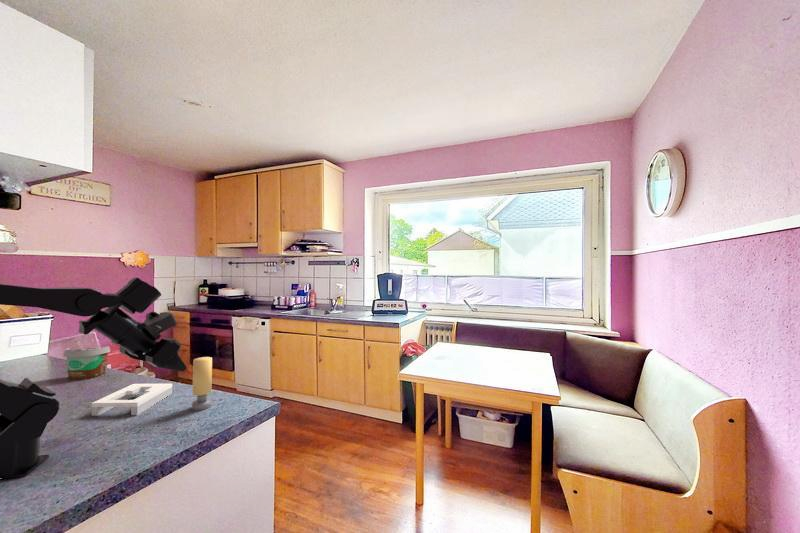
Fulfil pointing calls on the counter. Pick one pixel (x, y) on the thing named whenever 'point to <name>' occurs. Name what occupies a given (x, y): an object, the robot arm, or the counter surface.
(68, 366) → the food container
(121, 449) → the counter surface
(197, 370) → the headed peg
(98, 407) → the keyhole plate
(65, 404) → the counter surface
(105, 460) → the counter surface
